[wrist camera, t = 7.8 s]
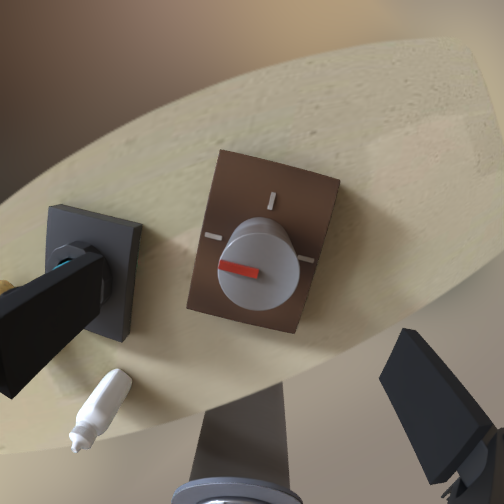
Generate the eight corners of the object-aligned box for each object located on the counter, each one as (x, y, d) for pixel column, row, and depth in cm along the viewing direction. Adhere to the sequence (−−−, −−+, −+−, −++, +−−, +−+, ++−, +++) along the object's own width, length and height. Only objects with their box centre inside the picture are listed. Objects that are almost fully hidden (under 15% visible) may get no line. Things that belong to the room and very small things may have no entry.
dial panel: (292, 322, 30) (295, 335, 28) (191, 298, 30) (185, 309, 27) (334, 179, 27) (341, 180, 24) (223, 151, 27) (219, 149, 24)
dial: (297, 226, 25) (311, 245, 18) (281, 282, 27) (287, 321, 19) (237, 210, 25) (227, 223, 18) (223, 268, 26) (209, 301, 19)
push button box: (130, 333, 31) (115, 351, 27) (55, 306, 31) (36, 320, 27) (143, 223, 28) (125, 231, 24) (60, 203, 28) (37, 208, 24)
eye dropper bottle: (91, 371, 33) (43, 433, 21) (126, 365, 32) (81, 435, 21) (108, 399, 34) (68, 463, 22) (143, 394, 33) (107, 466, 22)
